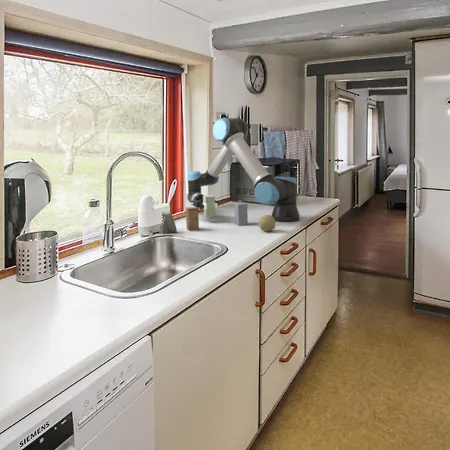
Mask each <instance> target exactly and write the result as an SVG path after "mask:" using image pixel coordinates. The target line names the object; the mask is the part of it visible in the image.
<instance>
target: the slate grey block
mask: <svg viewBox="0 0 450 450" xmlns="http://www.w3.org/2000/svg"><path fill="white" fill-rule="evenodd" d="M248 216H249V215H248V203H246V202H234V224H235V225H236V226H238V227H240V226H241V227H242V226H249V225H248Z"/></svg>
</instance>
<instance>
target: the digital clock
mask: <svg viewBox="0 0 450 450" xmlns="http://www.w3.org/2000/svg"><path fill="white" fill-rule="evenodd" d="M162 211H163V212H162V216H163V217H162V218H163V220H162V223H161V224H160V230H159V233H158V234H161V233H164V234H167V233H170V232H171V233H175V232H177V225H176V222H175V220H174V219H175V218H174V217H173V216H174V215H173V213H172V212H171V211H166V210H165V211H164V210H162ZM164 217H165V218H164Z"/></svg>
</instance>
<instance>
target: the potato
mask: <svg viewBox="0 0 450 450" xmlns="http://www.w3.org/2000/svg"><path fill="white" fill-rule="evenodd" d="M258 225H259V228H260V230H261V231H263V232H268V231H269V232H271V231H273V230H275V228H276V221H275V219H274V218H273V217H272V215H270V214H264V215H261V216H260V218H259V219H258Z"/></svg>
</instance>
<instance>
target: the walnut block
mask: <svg viewBox="0 0 450 450" xmlns="http://www.w3.org/2000/svg"><path fill="white" fill-rule="evenodd" d="M199 217H200V216H199V208H197V207H195V206H189V207H185V219H186V220H185V221H186V230H187V231H189V232H193V231H200V222H199Z"/></svg>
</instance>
